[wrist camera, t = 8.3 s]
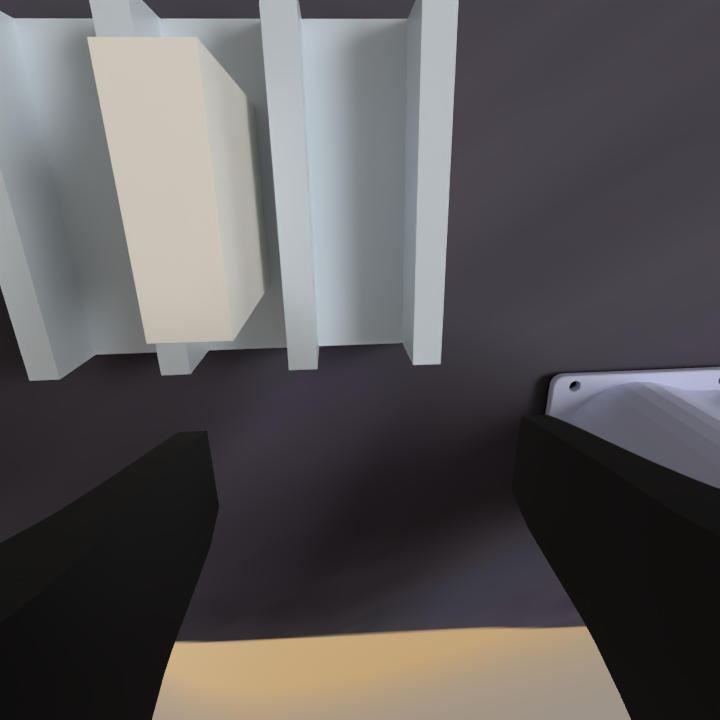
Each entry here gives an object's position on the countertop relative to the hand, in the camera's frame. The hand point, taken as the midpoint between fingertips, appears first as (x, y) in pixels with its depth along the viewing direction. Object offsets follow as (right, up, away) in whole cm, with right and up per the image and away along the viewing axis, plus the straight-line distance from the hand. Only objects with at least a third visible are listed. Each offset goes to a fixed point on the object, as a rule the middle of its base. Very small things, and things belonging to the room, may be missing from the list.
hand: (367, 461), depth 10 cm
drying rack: (-5, +8, +7) cm, 12 cm away
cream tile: (-5, +8, +6) cm, 11 cm away
